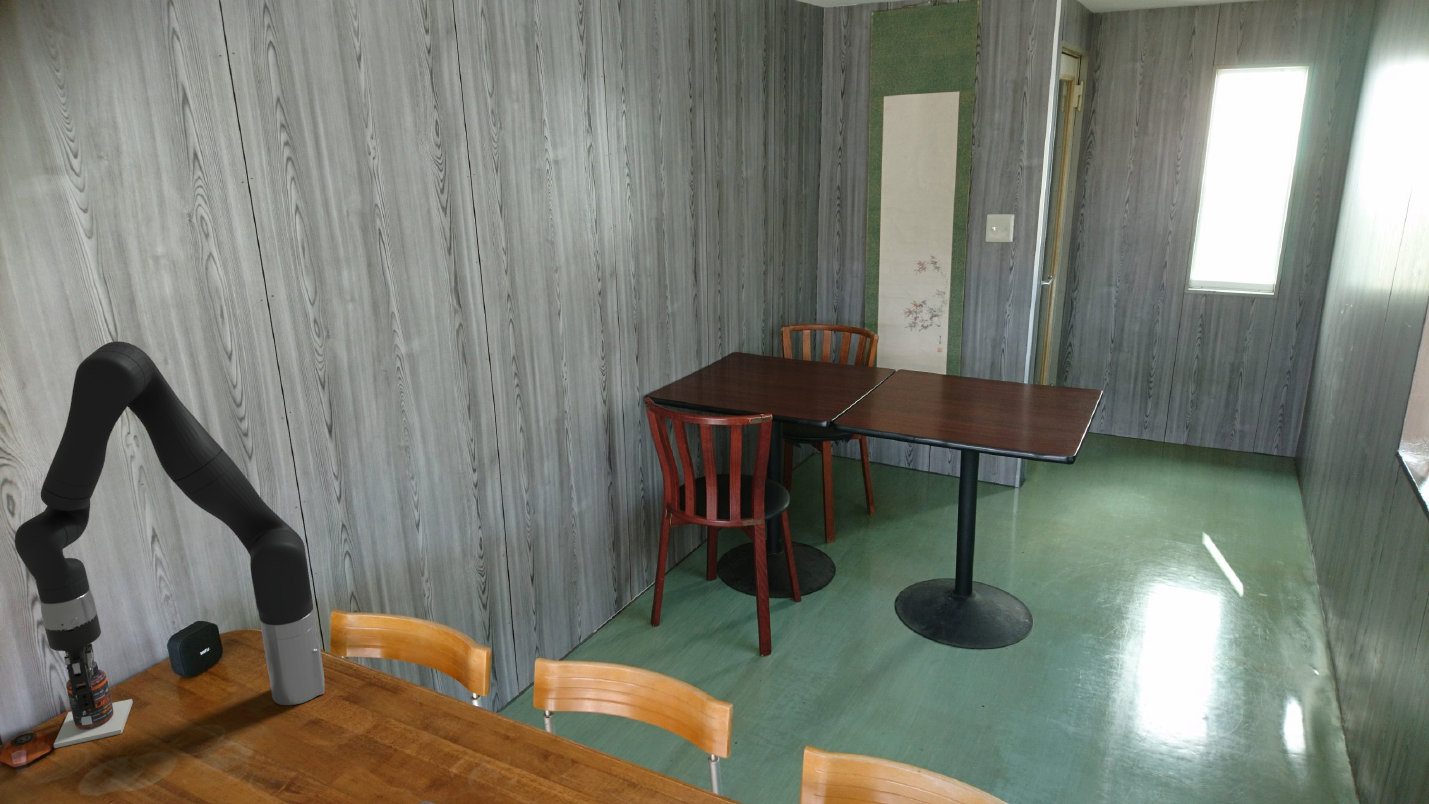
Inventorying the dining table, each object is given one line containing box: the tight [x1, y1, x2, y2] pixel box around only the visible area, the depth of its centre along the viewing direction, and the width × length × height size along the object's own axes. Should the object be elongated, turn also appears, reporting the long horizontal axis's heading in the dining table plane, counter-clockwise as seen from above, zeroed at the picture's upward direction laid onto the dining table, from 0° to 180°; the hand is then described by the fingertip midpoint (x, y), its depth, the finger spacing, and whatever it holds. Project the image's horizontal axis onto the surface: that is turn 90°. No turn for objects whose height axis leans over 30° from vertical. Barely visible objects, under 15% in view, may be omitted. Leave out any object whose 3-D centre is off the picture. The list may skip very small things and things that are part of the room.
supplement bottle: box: [66, 660, 114, 729], centre depth 154 cm, size 6×6×11 cm
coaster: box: [53, 698, 134, 749], centre depth 156 cm, size 10×10×1 cm
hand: (88, 696), depth 154 cm, fingers open, 8 cm apart
